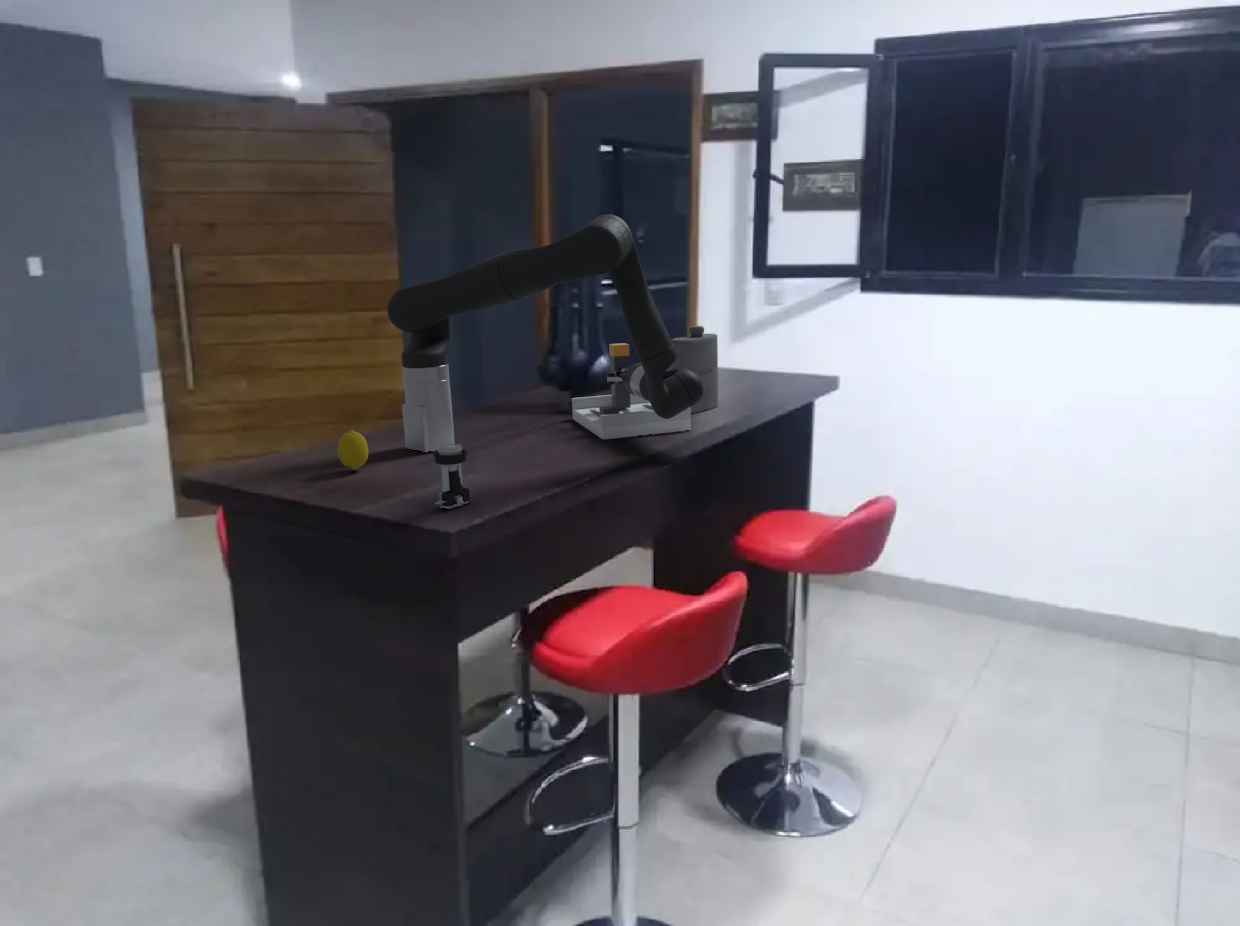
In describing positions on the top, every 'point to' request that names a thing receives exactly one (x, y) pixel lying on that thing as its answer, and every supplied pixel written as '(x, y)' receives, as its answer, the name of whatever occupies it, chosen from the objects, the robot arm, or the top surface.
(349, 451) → the lemon
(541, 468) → the top surface
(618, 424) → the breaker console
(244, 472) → the top surface
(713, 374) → the flask
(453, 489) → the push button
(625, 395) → the handle
